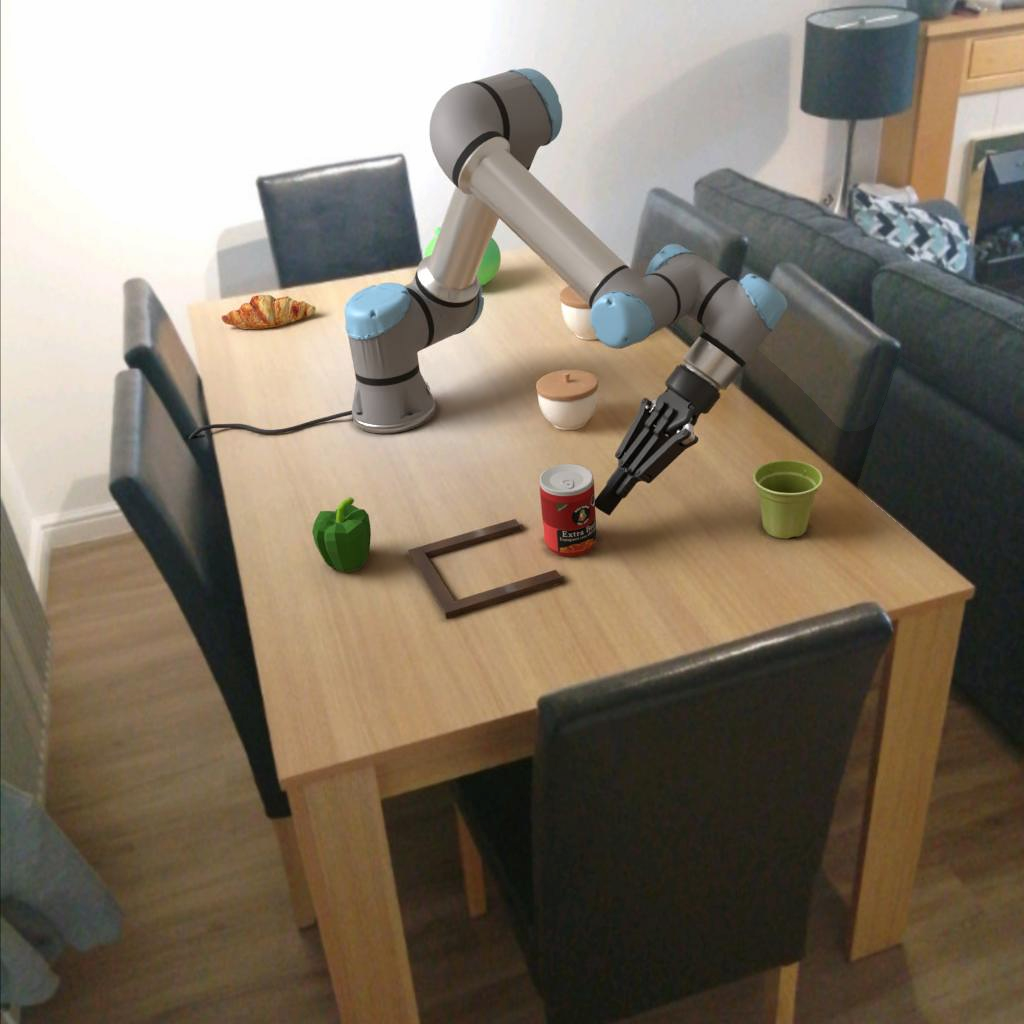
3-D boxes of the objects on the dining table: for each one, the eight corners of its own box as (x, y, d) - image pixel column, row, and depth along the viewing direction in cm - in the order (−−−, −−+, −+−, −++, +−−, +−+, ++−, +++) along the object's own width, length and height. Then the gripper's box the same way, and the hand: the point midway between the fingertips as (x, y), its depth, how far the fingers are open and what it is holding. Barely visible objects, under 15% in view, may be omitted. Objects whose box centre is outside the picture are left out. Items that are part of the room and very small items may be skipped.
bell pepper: (328, 585, 147) (315, 526, 142) (314, 557, 154) (301, 499, 148) (384, 568, 150) (374, 509, 144) (368, 541, 156) (357, 483, 151)
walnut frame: (515, 524, 157) (515, 518, 156) (562, 582, 143) (561, 576, 142) (408, 555, 152) (407, 549, 151) (446, 619, 138) (445, 613, 138)
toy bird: (421, 300, 242) (412, 238, 234) (437, 275, 256) (429, 215, 248) (496, 298, 239) (490, 235, 231) (509, 273, 253) (503, 213, 245)
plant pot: (805, 552, 144) (810, 499, 139) (741, 536, 149) (743, 484, 144) (827, 519, 151) (831, 467, 146) (764, 505, 155) (767, 454, 150)
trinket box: (595, 437, 178) (593, 387, 173) (534, 436, 180) (530, 386, 175) (603, 408, 187) (601, 360, 182) (544, 408, 189) (541, 360, 184)
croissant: (319, 325, 243) (313, 291, 243) (316, 319, 233) (311, 284, 233) (227, 337, 241) (221, 302, 240) (221, 332, 231) (215, 296, 230)
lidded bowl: (633, 326, 218) (632, 275, 212) (604, 349, 209) (602, 296, 203) (580, 318, 224) (578, 269, 218) (551, 340, 215) (547, 289, 209)
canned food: (561, 564, 147) (556, 497, 141) (534, 538, 153) (528, 473, 147) (607, 546, 149) (604, 481, 144) (579, 521, 156) (575, 458, 150)
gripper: (743, 407, 143) (638, 541, 147) (694, 373, 154) (598, 500, 158) (710, 381, 139) (603, 520, 143) (661, 348, 149) (564, 479, 153)
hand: (600, 509), depth 150 cm, fingers closed
